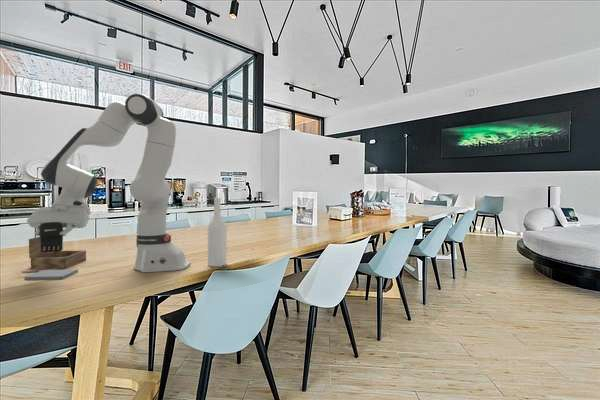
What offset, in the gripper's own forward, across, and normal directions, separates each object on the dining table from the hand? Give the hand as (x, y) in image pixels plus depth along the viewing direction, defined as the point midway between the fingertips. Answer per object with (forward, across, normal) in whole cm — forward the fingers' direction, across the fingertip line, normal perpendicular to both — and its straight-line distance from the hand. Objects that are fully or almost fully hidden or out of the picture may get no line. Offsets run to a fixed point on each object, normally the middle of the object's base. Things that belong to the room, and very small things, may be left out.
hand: (50, 235), depth 119 cm
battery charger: (+4, 0, +5) cm, 7 cm away
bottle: (+1, +60, +20) cm, 64 cm away
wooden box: (0, -8, +23) cm, 24 cm away
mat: (+11, 0, +12) cm, 16 cm away
